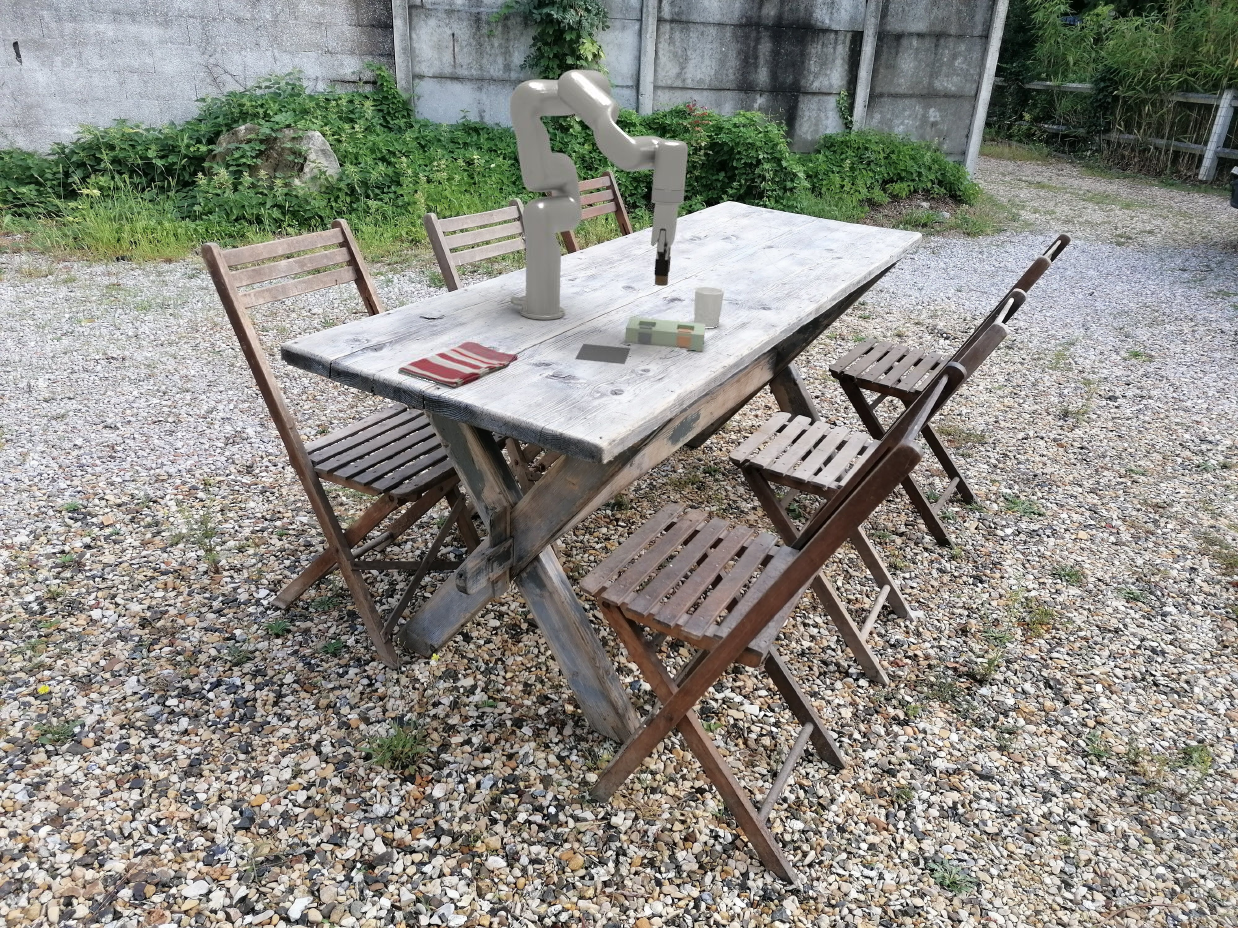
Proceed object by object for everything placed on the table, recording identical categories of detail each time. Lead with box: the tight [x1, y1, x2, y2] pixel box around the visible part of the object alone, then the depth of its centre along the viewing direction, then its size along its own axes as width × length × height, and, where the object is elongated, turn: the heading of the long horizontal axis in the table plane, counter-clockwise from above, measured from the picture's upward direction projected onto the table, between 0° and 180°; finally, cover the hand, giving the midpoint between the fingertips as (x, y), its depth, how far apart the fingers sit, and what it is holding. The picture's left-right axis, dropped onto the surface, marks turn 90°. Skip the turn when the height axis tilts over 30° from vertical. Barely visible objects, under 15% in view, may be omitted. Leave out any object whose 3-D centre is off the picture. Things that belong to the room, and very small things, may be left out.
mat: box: [574, 343, 631, 365], centre depth 206 cm, size 12×12×1 cm
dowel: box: [654, 244, 671, 287], centre depth 204 cm, size 3×3×10 cm
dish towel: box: [397, 341, 519, 390], centre depth 193 cm, size 17×23×3 cm
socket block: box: [624, 316, 706, 352], centre depth 218 cm, size 20×10×5 cm, turn 82°
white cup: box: [693, 286, 725, 327], centre depth 233 cm, size 8×8×10 cm
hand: (662, 273), depth 205 cm, fingers closed on dowel, 3 cm apart
